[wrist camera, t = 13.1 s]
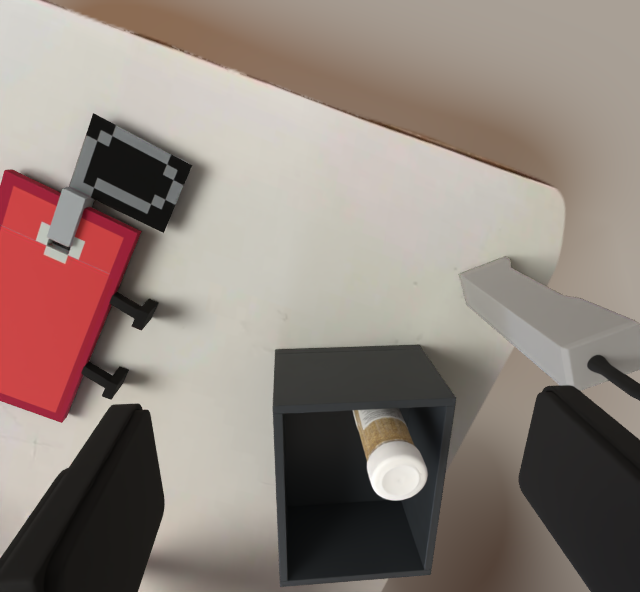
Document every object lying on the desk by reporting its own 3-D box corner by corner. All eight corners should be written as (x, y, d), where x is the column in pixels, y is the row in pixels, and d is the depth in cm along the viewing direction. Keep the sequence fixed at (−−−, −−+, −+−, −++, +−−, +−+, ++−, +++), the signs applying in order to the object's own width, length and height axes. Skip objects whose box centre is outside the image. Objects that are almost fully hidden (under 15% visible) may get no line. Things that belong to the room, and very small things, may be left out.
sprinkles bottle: (344, 402, 44) (368, 504, 32) (348, 366, 43) (374, 457, 30) (385, 403, 45) (424, 502, 32) (390, 366, 43) (433, 457, 30)
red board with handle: (214, 175, 36) (40, 83, 32) (208, 177, 33) (18, 77, 30) (103, 426, 44) (-44, 373, 41) (91, 444, 41) (-67, 389, 38)
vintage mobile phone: (510, 287, 42) (792, 461, 19) (465, 304, 42) (687, 496, 19) (504, 255, 41) (798, 399, 17) (457, 272, 41) (685, 437, 18)
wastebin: (275, 349, 42) (272, 406, 33) (419, 344, 44) (456, 398, 34) (280, 504, 50) (279, 587, 40) (403, 496, 51) (430, 575, 42)
